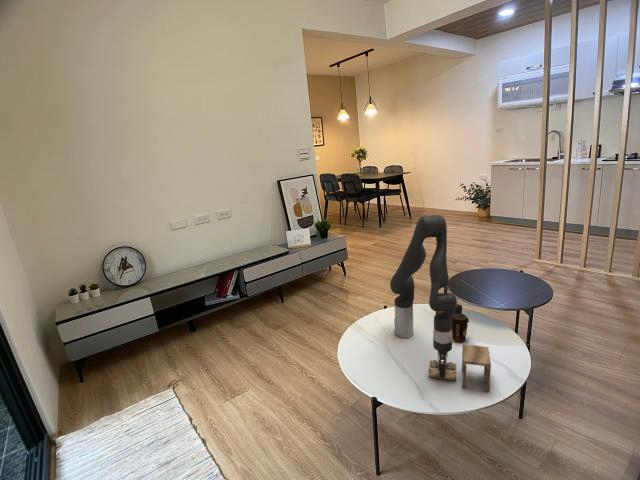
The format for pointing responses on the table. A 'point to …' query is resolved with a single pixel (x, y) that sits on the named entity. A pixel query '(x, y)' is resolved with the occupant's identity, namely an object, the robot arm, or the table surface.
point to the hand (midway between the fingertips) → (442, 372)
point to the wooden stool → (476, 361)
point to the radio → (457, 310)
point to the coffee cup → (459, 327)
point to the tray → (449, 372)
